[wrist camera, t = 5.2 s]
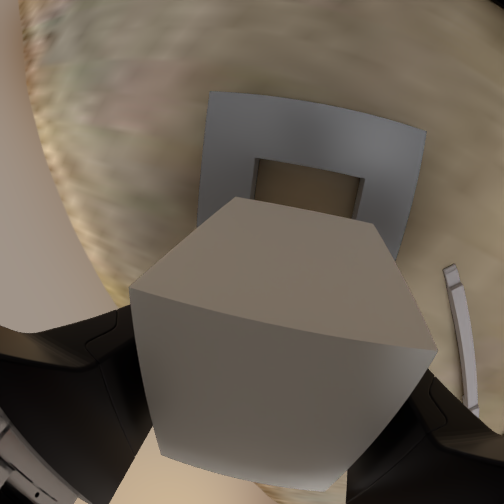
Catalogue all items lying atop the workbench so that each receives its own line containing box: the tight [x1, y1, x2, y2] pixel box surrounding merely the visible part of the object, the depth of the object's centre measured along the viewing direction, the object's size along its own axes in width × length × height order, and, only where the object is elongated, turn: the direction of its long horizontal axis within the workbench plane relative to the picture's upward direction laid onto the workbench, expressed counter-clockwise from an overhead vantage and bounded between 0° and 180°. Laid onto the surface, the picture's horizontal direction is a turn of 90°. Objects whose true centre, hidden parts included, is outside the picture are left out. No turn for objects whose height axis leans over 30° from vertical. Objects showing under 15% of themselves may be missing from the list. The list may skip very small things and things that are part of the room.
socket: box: [197, 91, 427, 261], centre depth 17 cm, size 12×14×2 cm
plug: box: [129, 197, 438, 492], centre depth 8 cm, size 4×7×6 cm, turn 173°
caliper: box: [443, 264, 479, 418], centre depth 16 cm, size 20×1×6 cm, turn 30°
